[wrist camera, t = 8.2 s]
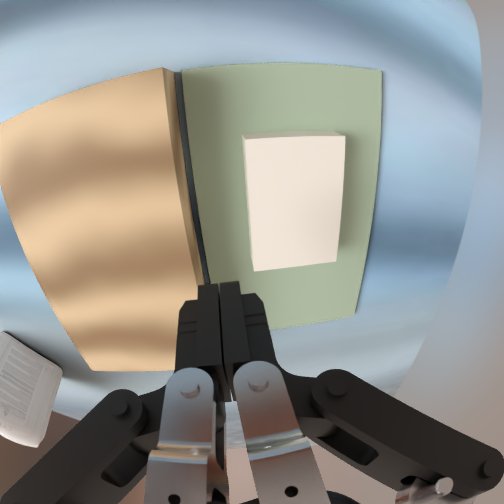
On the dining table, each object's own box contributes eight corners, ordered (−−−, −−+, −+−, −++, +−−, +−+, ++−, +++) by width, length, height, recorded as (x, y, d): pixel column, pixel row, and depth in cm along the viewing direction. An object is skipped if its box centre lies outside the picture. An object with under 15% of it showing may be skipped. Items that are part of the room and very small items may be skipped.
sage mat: (182, 70, 15) (181, 70, 14) (378, 70, 15) (381, 70, 15) (220, 332, 26) (220, 335, 26) (352, 313, 27) (353, 315, 27)
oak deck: (20, 118, 14) (-13, 130, 10) (174, 72, 15) (162, 67, 11) (101, 339, 26) (92, 370, 22) (215, 333, 26) (216, 367, 23)
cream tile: (345, 136, 16) (333, 130, 17) (244, 139, 15) (241, 134, 17) (336, 261, 20) (327, 247, 22) (253, 271, 20) (250, 255, 22)
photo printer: (-2, 341, 25) (-33, 415, 15) (-1, 325, 24) (-38, 405, 13) (60, 378, 29) (40, 457, 19) (66, 366, 28) (43, 453, 18)
